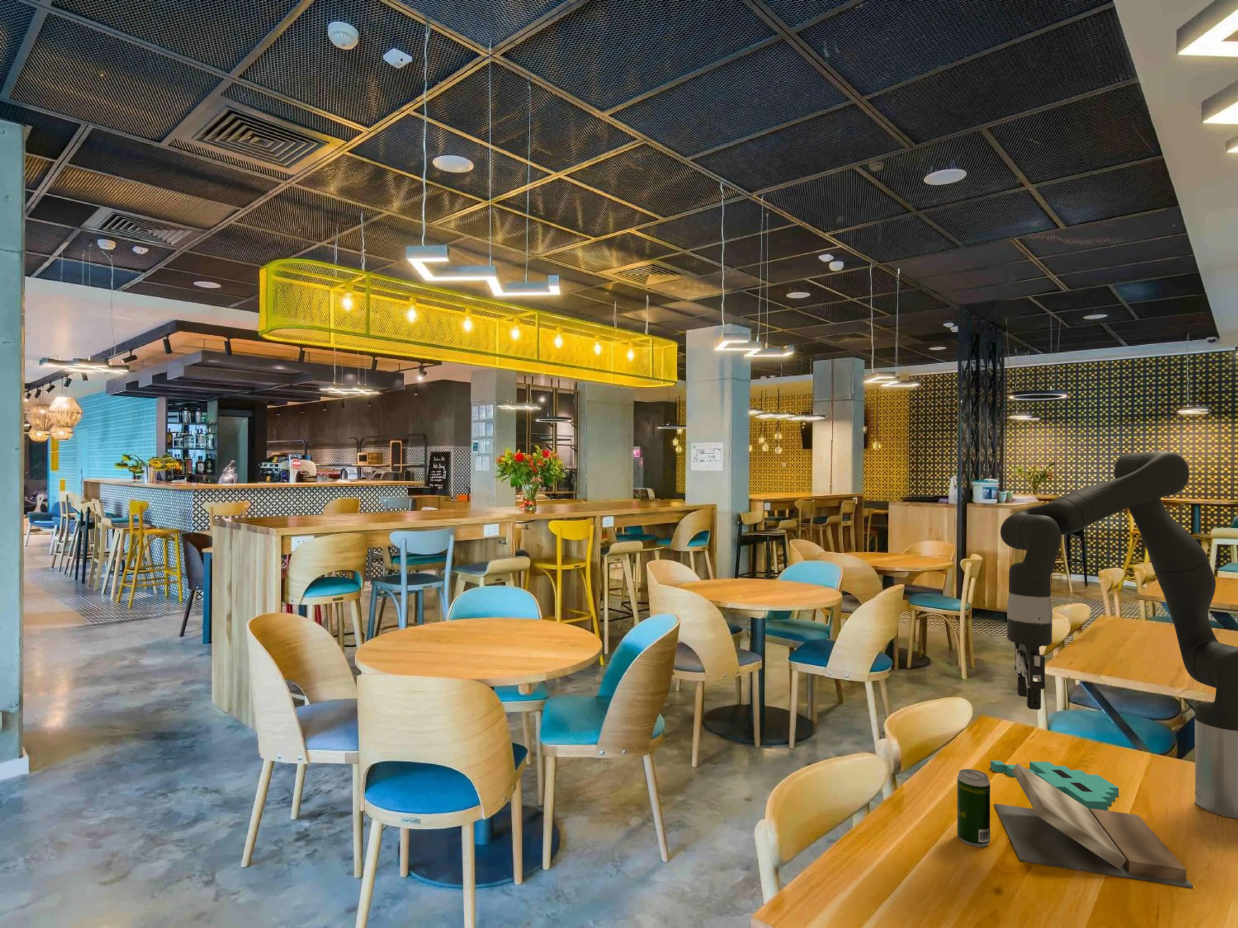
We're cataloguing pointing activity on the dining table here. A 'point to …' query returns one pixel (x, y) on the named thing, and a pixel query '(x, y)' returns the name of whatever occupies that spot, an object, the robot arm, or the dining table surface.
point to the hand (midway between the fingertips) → (1028, 702)
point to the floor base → (1060, 850)
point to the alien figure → (1070, 783)
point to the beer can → (973, 808)
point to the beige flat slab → (1067, 815)
